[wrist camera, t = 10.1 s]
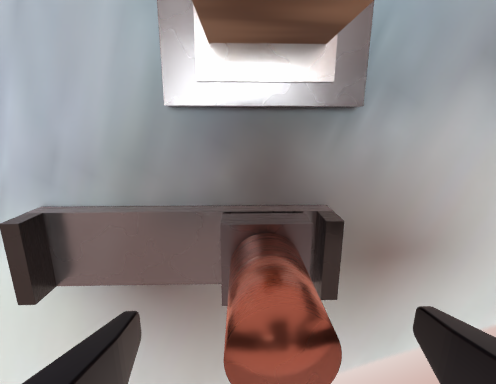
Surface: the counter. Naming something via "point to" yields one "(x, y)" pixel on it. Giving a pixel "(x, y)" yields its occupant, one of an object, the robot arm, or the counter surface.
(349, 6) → the block
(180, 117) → the counter surface
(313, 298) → the handle
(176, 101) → the plate
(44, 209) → the rail
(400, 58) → the counter surface
